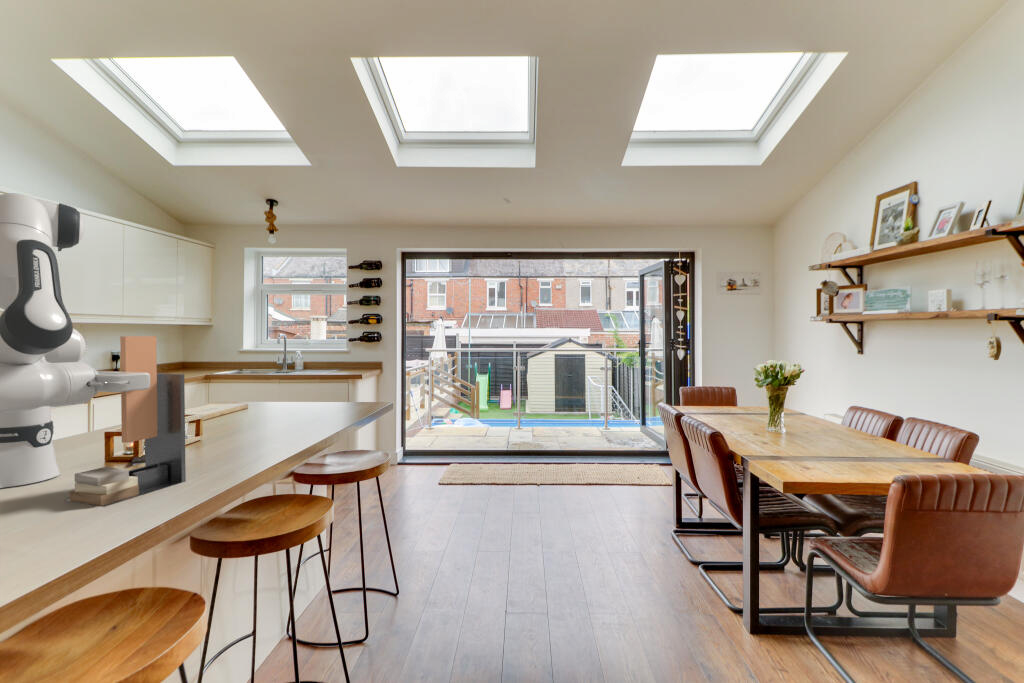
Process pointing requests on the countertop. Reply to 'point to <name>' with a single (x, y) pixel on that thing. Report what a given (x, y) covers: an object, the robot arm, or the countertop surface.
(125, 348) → the sheet
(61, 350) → the robot arm
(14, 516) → the countertop surface
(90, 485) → the offcut stack
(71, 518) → the countertop surface
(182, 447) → the rack
